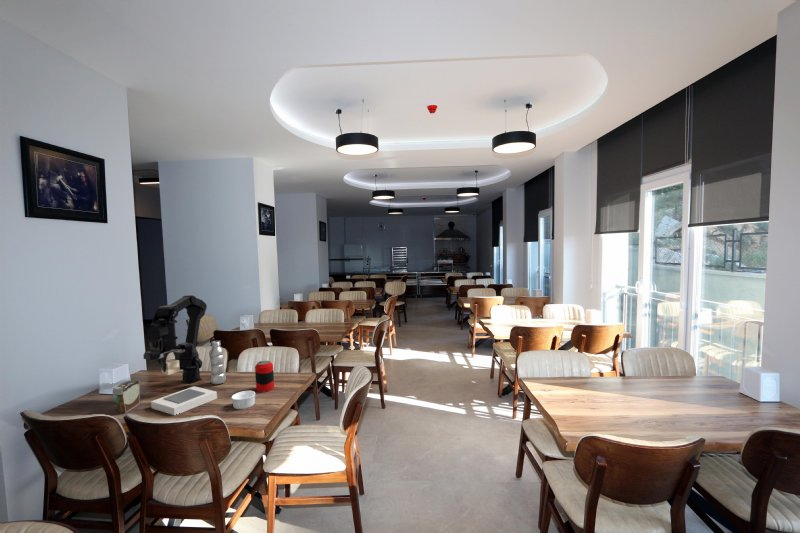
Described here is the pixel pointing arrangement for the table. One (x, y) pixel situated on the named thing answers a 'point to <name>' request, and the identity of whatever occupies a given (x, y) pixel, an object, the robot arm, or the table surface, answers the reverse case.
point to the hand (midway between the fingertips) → (170, 370)
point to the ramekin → (243, 399)
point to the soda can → (264, 376)
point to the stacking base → (183, 400)
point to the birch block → (171, 367)
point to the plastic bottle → (217, 363)
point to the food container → (127, 395)
